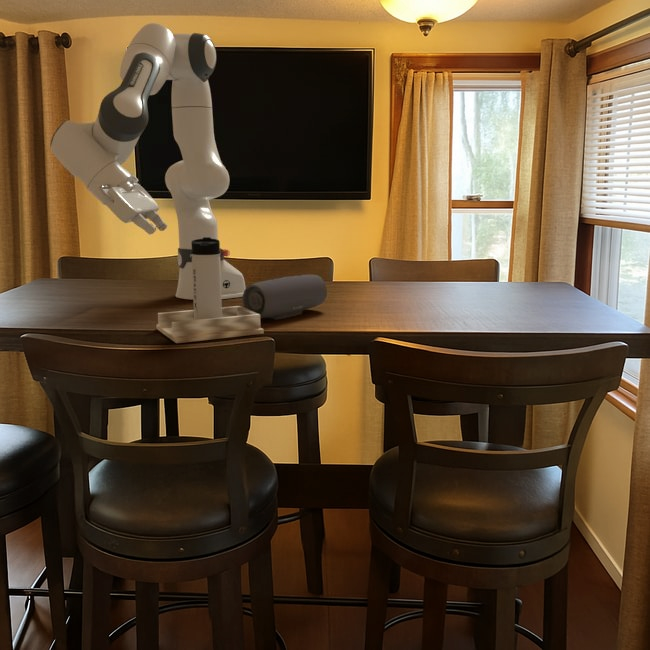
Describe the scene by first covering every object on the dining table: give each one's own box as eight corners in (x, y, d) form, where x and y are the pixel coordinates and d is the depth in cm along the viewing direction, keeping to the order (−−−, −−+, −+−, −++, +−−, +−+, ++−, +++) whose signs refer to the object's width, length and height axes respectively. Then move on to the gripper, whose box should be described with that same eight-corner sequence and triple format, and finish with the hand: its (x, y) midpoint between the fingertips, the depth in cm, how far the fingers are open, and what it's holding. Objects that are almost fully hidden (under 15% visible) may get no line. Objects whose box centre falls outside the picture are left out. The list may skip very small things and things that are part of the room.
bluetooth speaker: (301, 307, 186) (301, 270, 184) (328, 312, 180) (328, 274, 178) (240, 320, 168) (239, 280, 166) (268, 326, 163) (267, 284, 161)
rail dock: (237, 320, 168) (237, 304, 167) (263, 333, 154) (263, 316, 154) (156, 328, 159) (155, 311, 158) (176, 343, 145) (175, 324, 144)
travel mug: (223, 323, 160) (220, 237, 156) (221, 329, 154) (218, 239, 149) (196, 323, 160) (193, 237, 155) (192, 330, 153) (189, 239, 149)
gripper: (106, 174, 140) (156, 223, 141) (136, 175, 160) (179, 217, 161) (85, 197, 141) (136, 245, 142) (118, 194, 161) (161, 236, 162)
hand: (159, 230), depth 152 cm, fingers open, 8 cm apart
